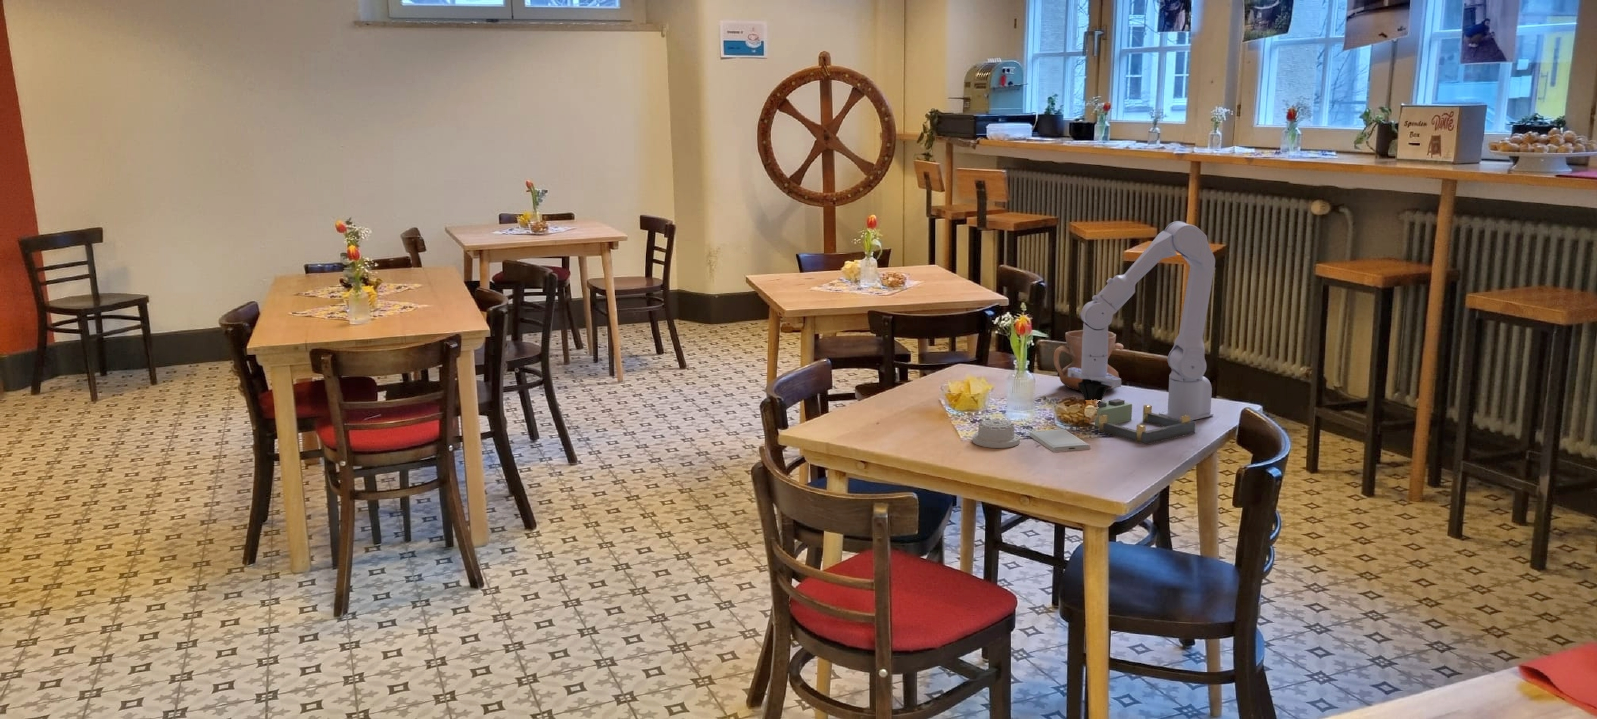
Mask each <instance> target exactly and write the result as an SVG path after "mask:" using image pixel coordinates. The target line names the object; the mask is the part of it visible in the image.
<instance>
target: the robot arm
mask: <svg viewBox="0 0 1597 719" xmlns="http://www.w3.org/2000/svg"><path fill="white" fill-rule="evenodd" d="M1177 253H1178V254H1180V256H1181V257H1182V258H1183V259H1184V260H1185V261H1186V263H1187V264H1188V265H1189V271H1188V277H1187V283H1186V288H1185V295H1184V296H1185V297H1184V302H1183V307H1182V313H1181V320H1180V326H1179V332H1178V335H1177V336H1176V338H1175V339H1174V344H1173V346H1172V348H1171V350H1170V351H1169V353H1168V356H1167V363H1168V367H1170V368H1171V372H1170V373H1169V375H1168V376H1169V378H1168V398H1167V400H1168V401H1167V410H1165V411H1161V412H1158V415H1162V416H1166V417H1170V418H1174V419H1177V420H1181V416H1182V415H1189V416H1190V421H1195V420H1199V419H1204V418H1209V417H1213V416H1214V413H1213V412H1211V411H1212V410H1211V408H1212V390H1213V388H1212V387H1213V386H1212V384H1211V382H1210V380H1209V379H1208V378H1207V377H1206V376H1204V375H1205V373H1206V371H1207V366H1208V365H1207V361H1206V359H1205V352H1206V347H1205V342H1204V338H1203V337H1204V334H1205V327H1206V321H1207V320H1206V319H1207V313H1208V308H1209V303H1210V296H1211V291H1212V285H1213V279H1214V272H1215V266H1216V258H1215V255H1214V253H1213V250H1212V248H1211V246H1210V244H1209V241H1208V236H1207V235H1206V234H1205V233H1204V232H1203V231H1202V230H1201V229H1200V228H1199V227H1197V226H1196V225H1193V224H1188V223H1187V222H1185V221H1182V220H1181V221H1180V220H1177V221H1173V222H1170V223H1169V224H1168V225H1167V226H1166V227H1165V229H1164V230H1162V231H1160V233H1158V234H1157V235H1156V236H1155V238H1154V239H1153V241H1151V243H1150V244H1149V245H1148V246H1147V247H1146V249H1145V250H1143V252H1142V253H1141V254H1140V255H1139V257H1138V258H1137V259H1136V260H1135V261H1134V263H1132V264H1131V266H1129V268H1128V269H1127V270H1126V271H1125V273H1124V274H1117V275H1115V276H1114V277H1112V278H1111V277H1109V278H1108V279H1107V280H1106V281H1105V282H1106V283H1107V284H1106V285H1105V286H1104V287H1103V288H1102V289H1101V290H1100V291H1099V293H1098V294H1097V295H1095V294H1094V295H1093V296H1092V297H1091V298H1092V300H1091V301H1088V302H1086V303H1085V304H1084V305H1083V307H1082V309H1081V312H1080V313H1079V315H1080V319H1081V321H1082V322H1083V323H1082V324H1083V327H1082V330H1083V335H1082V364H1081V369H1080V368H1075V367H1073V368H1068V377H1076V378H1080V379H1083V380H1082V382H1079V383H1078V386H1079V388H1080V390H1081V391H1080V392H1081V395H1082V397H1083V399H1084V401H1085V400H1091V399H1092V400H1094V399H1097V400H1101V401H1102V400H1103V398H1104V395H1106V394H1105V393H1106V392H1107V389H1108V387H1109V386H1112V389H1116V388H1117V389H1118V388H1122V387H1121V386H1122V378H1120V377H1119V378H1117V377H1115V376H1113V375H1111V374H1108V373H1107V364H1108V359H1109V358H1108V331H1109V326H1110V325H1111V324H1112V322H1113V317H1114V316H1113V315H1114V314H1116V313H1117V312H1118V311H1119V310H1120V309H1121V308H1122V307H1123V306H1124V305H1125V304H1126V303H1127V301H1129V299H1130V298H1132V297H1133V295H1134V294H1135V293H1136V285H1137V283H1138V282H1140V280H1142V278H1143V277H1145V276H1146V274H1148V273H1149V272H1150V271H1151V270H1152V269H1153V268H1154V267H1155V266H1156V265H1157V264H1158V263H1160V261H1161V260H1163V259H1167V258H1172V257H1176V256H1178V254H1177ZM1108 390H1109V389H1108ZM1212 415H1213V416H1212Z"/></svg>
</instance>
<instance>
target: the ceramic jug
mask: <svg viewBox="0 0 1597 719" xmlns="http://www.w3.org/2000/svg"><path fill="white" fill-rule="evenodd" d="M1082 335H1083V329H1080V330H1072V331H1071V330H1070V331H1067V332H1065V336H1064V337H1065V342H1066V346H1065V345H1060V346H1058V347H1057V348H1056V349H1055V350H1054V353H1053V356H1052V358H1053V365H1054V367H1055V369H1056V371H1057V372H1058V375H1059V381H1060V382H1061V383H1062V384H1063V385H1064V386H1066V387H1068V388H1069V389H1073V390H1076V391H1080V392H1081V390H1080V388H1079V386H1078V383H1079V382H1082V380H1083V379H1080V378H1076V377H1068V368H1073V367H1075V368H1080V369H1081V364H1082ZM1116 339H1117V334H1116V333H1114V332H1112V331H1109V330H1108V359H1109V358H1110V356H1111V354H1112V352H1113V351H1115V350H1117V349H1118V350H1123V349H1124V345H1123V344H1122V343H1119V342H1117V343H1116ZM1064 352H1065V353H1067V354H1068V355H1069V356H1070V357H1071V359H1072V362H1071V363H1069V364H1068V365H1066V366H1064V367H1063V368H1062V366H1061V363H1060V357H1061V354H1062V353H1064ZM1107 373H1108V374H1111V375H1113V376H1115V377H1117V378H1120V376H1119V371H1117V370H1116V369H1115V368H1114V367H1113V366H1111V365H1109V364H1108V363H1107ZM1110 389H1113V387H1112V386H1109V387H1108V389H1107V390H1110ZM1107 390H1106V391H1107Z"/></svg>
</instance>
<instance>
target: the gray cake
mask: <svg viewBox="0 0 1597 719" xmlns="http://www.w3.org/2000/svg"><path fill="white" fill-rule="evenodd" d="M977 427H978V429H977V431H978V432H977V431H976V432H975V433H973V435H972V443H973V444H975V445H977V446H978V447H979V446H980V447H984V448H992V449H1006V448H1007V449H1008V448H1012V447H1017V446H1018V445H1019V444H1020V443H1021V442H1020V441H1021V436H1020V435H1019V434H1017V433H1015V423H1014V422H1011V420H1006V419H995V418H993V419H985V420H981V421H979V423H978V426H977Z"/></svg>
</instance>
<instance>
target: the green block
mask: <svg viewBox="0 0 1597 719" xmlns="http://www.w3.org/2000/svg"><path fill="white" fill-rule="evenodd" d="M1097 404H1098V407H1099V408H1098V409H1096V410H1097V413H1098V417H1097V418H1096V420H1095V425H1094V427H1095V426H1096V427H1098V428H1099V415H1101V414H1105V415H1108V420H1107V422H1108V423H1112V424H1115V425H1118V424H1121V423H1124V422H1129V421H1132V414H1133V413H1132V412H1133V403H1130V402H1126V401H1125V400H1124V399H1121V398H1115V399H1110V400H1107V401H1101V402H1100V401H1099V402H1098V403H1097Z"/></svg>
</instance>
